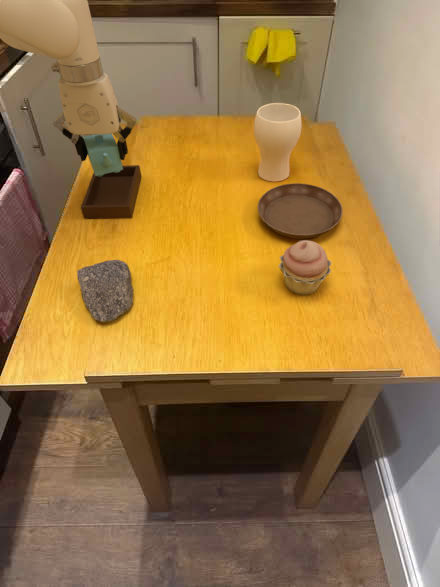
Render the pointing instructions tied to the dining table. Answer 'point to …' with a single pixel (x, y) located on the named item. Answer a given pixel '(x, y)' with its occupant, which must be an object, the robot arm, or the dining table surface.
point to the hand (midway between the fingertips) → (104, 156)
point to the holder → (112, 194)
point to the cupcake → (304, 267)
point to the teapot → (103, 154)
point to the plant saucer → (300, 210)
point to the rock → (106, 289)
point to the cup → (276, 138)
